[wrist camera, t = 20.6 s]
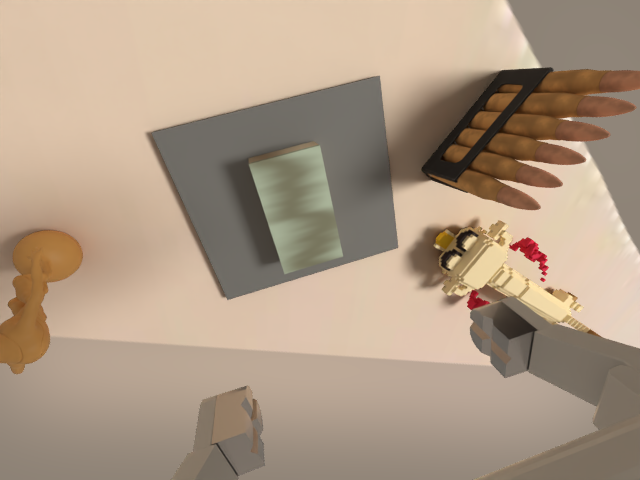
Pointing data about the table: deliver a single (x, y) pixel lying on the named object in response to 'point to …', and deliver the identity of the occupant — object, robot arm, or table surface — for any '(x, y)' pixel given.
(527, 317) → the robot arm
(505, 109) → the ammunition clip
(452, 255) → the cat figure
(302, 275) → the rubber mat
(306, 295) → the table surface
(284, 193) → the pale green streaked tile
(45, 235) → the figurine
